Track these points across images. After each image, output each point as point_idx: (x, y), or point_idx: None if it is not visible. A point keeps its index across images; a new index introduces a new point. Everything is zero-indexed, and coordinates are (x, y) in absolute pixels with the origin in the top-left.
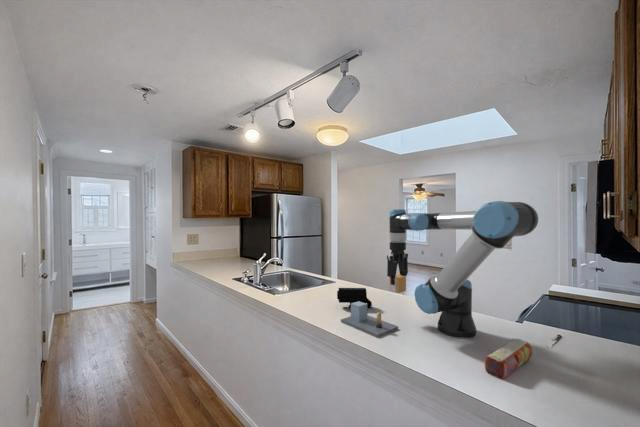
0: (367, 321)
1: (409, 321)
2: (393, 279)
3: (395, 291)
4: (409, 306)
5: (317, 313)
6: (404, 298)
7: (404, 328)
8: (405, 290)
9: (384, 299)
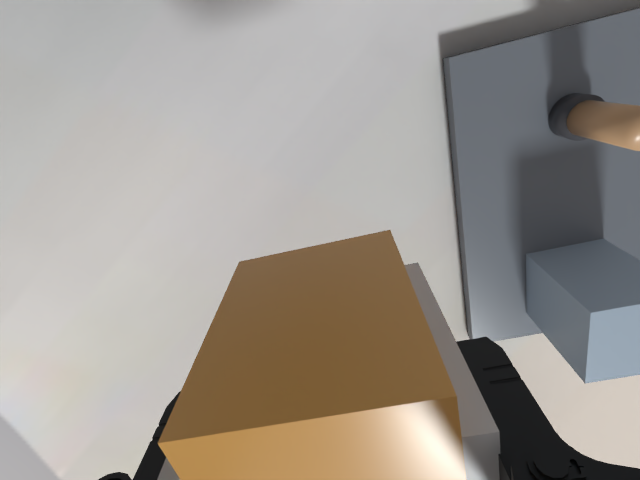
0: (553, 224)
1: (271, 139)
2: (529, 418)
3: (420, 268)
4: (107, 337)
5: (636, 431)
6: (62, 435)
7: (394, 48)
8: (245, 265)
9: None
